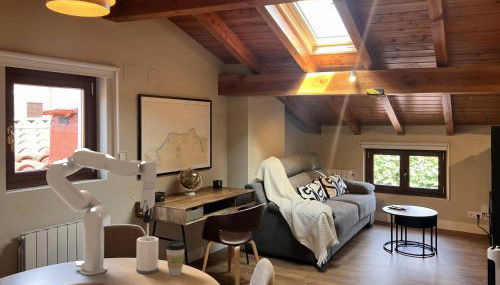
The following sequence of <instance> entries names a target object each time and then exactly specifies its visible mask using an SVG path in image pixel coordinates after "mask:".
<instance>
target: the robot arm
mask: <svg viewBox="0 0 500 285" xmlns="http://www.w3.org/2000/svg"><path fill="white" fill-rule="evenodd" d="M157 165H158V164H157V162H156V161H153V160H145V161H144V160H143V161H142V160H136V159H135V160H129V161H128V160H125V159H120V158H115V157H113V156H112V155H110V154H108V153H105V152H98V151H93V150H91V149H90V148H87V147H86V148H85V147H84V148H78V149H76V150H74V152H73V153H72V154H71V155H69V156H68V157H66V158H64V159H62V160H57V161H54V162H53V163H51V164H50V165H49V166H48V167H47V170H46V173H45V174H46V175H45V178H46V183H47V184H48V187H49V188H50V189H51V190H52V191H53V192H54V193H55V194H56V195H57V196H58V197H59V198H60V199H61V200H62V201H63V202H64V203H65V204H66V205H67V206H68V207H69V208H70V209H71V210H72V211H74V212H76V213H77V212H78V213H79V212H83V213H84V215H83V217H82V228H83V261H76V262H75V267H76V268H80V269H79V272H80V274H81V275H86V276H93V275H100V274H103V273H105V272H107V270H108V267H107V266H106V265H104V260H105V259H104V257H105V256H104V254H105V229H104V222H105V221H107V219H108V216H109V211H108V209H107V207H106V206H105V205H104V204H103V203H102V202H101V201H100V200H99V199H98V198H97V197H96V196H95V195H94V194H93V193H92V192H90V191H89V190H83V189H82V190H80V189H78V188H77V187H76V186H75V184H73V183H72V182H71V181H70V180H68V178H67V177H68V176H70V175H73V174H74V173H76V172H78V171H79V170H81V169H83V168H89V169H93V170H98V171H102V172H106V173H109V174H113V175H119V176H123V177H127V178H132V177H135V176H137V175H140V189H141V193H140V206H139V207H140V209H141V210H142V211H143V223H144V224H147V223H149V224H150V223H151V222H152V221H153V218H154V216H153V213H154V212H153V209H154V208H153V207H154V206H155V203H156V202H155V201H156V200H155V199H156V193H155V192H156V189H157V174H158V173H157V172H158V171H157V167H158V166H157ZM150 212H151V213H152V219H150Z"/></svg>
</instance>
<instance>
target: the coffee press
mask: <svg viewBox="0 0 500 285" xmlns="http://www.w3.org/2000/svg"><path fill="white" fill-rule="evenodd" d="M135 255H136V260H135V261H136V262H135V264H136V265H135V267H136V268H135V270H136V273H138V274H142V275H150V274H154V273H157V272H158V271H159V237H156V236H150V235H149V241H147V235H146V236H141V237H140V236H139V237H138V238H137V239H136V254H135Z"/></svg>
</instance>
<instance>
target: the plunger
mask: <svg viewBox="0 0 500 285" xmlns="http://www.w3.org/2000/svg"><path fill="white" fill-rule="evenodd" d="M150 219H152V213H151V212H150ZM152 220H153V219H152ZM149 234H150V223H146V236H147V241H149V236H150V235H149Z"/></svg>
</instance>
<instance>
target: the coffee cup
mask: <svg viewBox="0 0 500 285" xmlns="http://www.w3.org/2000/svg"><path fill="white" fill-rule="evenodd" d="M186 248H187V247H186V244H185V243H184V242H183V241H177V240H174V241H169V242H167V243H166V246H165V249H166V260H167V268H168V275H169V276H175V277H176V276H180V275H181V274H182V272H183V266H184V258H185V249H186Z"/></svg>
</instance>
